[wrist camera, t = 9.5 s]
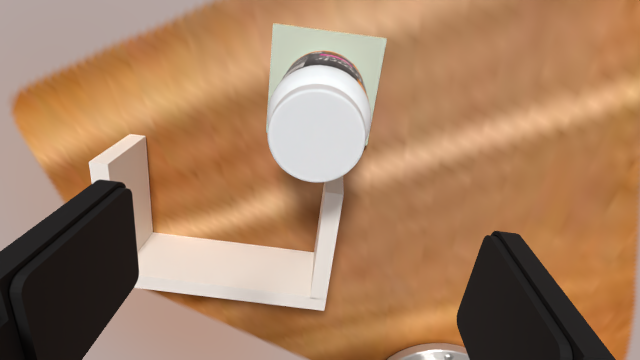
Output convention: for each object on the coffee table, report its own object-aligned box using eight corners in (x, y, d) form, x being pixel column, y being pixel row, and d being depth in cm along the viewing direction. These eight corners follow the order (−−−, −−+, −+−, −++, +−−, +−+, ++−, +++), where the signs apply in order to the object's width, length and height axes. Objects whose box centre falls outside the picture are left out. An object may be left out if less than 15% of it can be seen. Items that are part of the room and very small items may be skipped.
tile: (366, 142, 29) (366, 145, 29) (267, 129, 29) (266, 132, 29) (385, 37, 26) (386, 38, 26) (274, 23, 26) (273, 23, 26)
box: (326, 265, 34) (324, 310, 30) (140, 241, 34) (106, 284, 29) (342, 161, 30) (343, 194, 25) (130, 134, 30) (88, 161, 25)
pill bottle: (380, 83, 27) (404, 127, 18) (330, 145, 29) (329, 213, 20) (314, 30, 26) (303, 49, 17) (266, 99, 28) (234, 150, 19)
